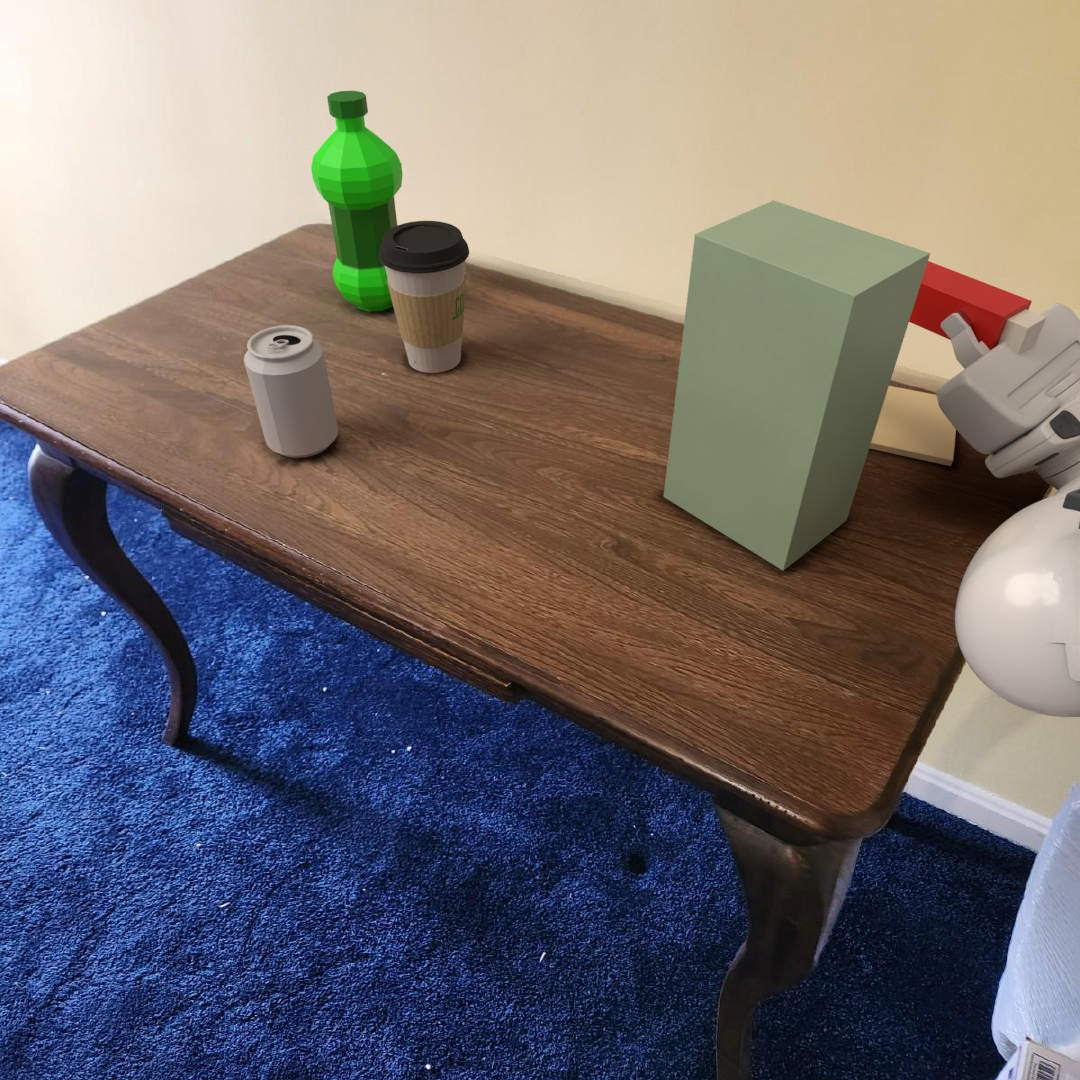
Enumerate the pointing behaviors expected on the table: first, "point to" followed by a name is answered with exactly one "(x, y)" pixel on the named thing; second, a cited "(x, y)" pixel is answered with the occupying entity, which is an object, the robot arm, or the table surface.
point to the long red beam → (975, 309)
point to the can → (291, 391)
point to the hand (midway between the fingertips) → (965, 305)
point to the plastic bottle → (358, 200)
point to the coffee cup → (427, 290)
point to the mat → (914, 427)
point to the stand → (784, 373)
